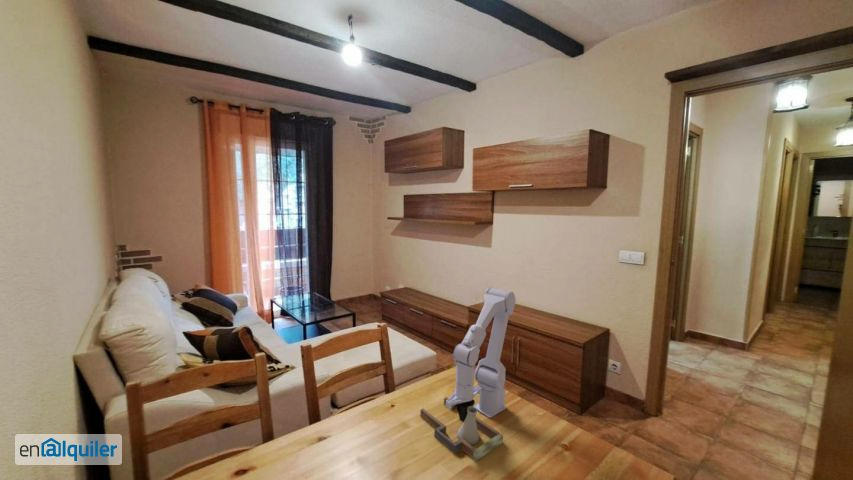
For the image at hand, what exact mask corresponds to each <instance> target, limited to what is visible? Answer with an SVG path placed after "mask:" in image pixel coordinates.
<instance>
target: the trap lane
mask: <svg viewBox="0 0 853 480" xmlns="http://www.w3.org/2000/svg"><path fill="white" fill-rule="evenodd" d="M449 398H450V397H446V396H445V397H444V398H443V406H445V407H446V400H448V399H449ZM455 408H456V406H455V405H454V406H452V408H451V409H450V410H454V409H455ZM456 409H457V408H456ZM420 418H422V419H423V420H424V421H425V422H426V423H428V424H429V425H430V426H432V427H433V428H434V438H436V440H438V441H439V442H441V443H442V445H444V446H445V447H446V448H447V449H449V451H451V452H452V453H453V454H456V453H458V452H460V451H463V452H464V453H465V454H467V456H469V458H471V459H473V460H474V461H475V462H477V461H478V460H480V459H482V458H483V457H484V456H487V454H489V453H490V452H491V451H493V450H494V449H496V448H497V447H499V446H500V445H502V444H503V443H504V434H502V433H501V432H500V431H498V430H497V429H495V428H493V427H492V426H490V425H489V424H487V423H486V422H484V421H483V420H481V419H479V418H478V417H477V416H475V419H476V424H477V429H478V430H480V431H481V432H482V433H484V434H486V435H487V436H488V437H490V438H491V439H489V440H488V441H486V442H485V443H483V444H482V445H480V446H478V447H477V448H475V447H474V445H470V444H469V443H467V442H466V441H465V440H464V439H462V438H461V439H458V440H455V441H453V440H452V439H451V438H449V437H448V436H447V435H446V434H447V425H445V424H444V423H442V421H441V420H438V418H436V417H435V416H434V415H432V414H431V413H429V411H427V410H426V409H424V408H421V409H420Z"/></svg>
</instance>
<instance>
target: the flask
mask: <svg viewBox="0 0 853 480" xmlns="http://www.w3.org/2000/svg"><path fill="white" fill-rule="evenodd" d="M473 406H474V405H473ZM473 406H469V407H468V408H467V412H468V413H467V416H466V418H465V420H464V422H462V424H461V425H460V427H459V428H458V430H457V431H456V432H457V433H456V434H457V437H456V438H457V439H458V440H459V439H461V438H462V439H464V440H465V441H466V442H467V443H469V444H470V445H471V446H474V445H475V444H477V443H478V442H479V441H480V437H479V436H480V434H479V429H478V428H477V424H476V419H475V416H476V415H477V413H478V410H477V408H475V407H473ZM476 417H477V416H476Z"/></svg>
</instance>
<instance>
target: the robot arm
mask: <svg viewBox="0 0 853 480" xmlns="http://www.w3.org/2000/svg"><path fill="white" fill-rule="evenodd" d="M515 306H516V296H515V293H514V292H513V291H507V290H503V289H498V288H493V287H491V286H490V287H488V288H487V289H486V290H485V292H484V295H483V306H482V309H481V311H480V313H479V315H478V318H477V320H476V323H475V324H472V325H470V327H469V329H468V330H467V332H466V334H465V336H464V338H463V340H462V342H461V343H458V344H457V345H456V346H455V347H454V350H453V354H452V359H453V361H454V367H455V388H454V389H453V392H454V393H453V394H452V395H451V396H450V397H448V398H449V399H448V400H446V406H445V407H446V408H447V409H449V410H451V408H452V406H454V405H455V406H456V411H457V413H458V418H459V421H461V422H462V423H463V422H464V420H465V418H466V416H467V413H468V412H467V408H468V407H469V406H473V407H475V408H477V412H480V413H481V414H483V415H484V416H486V417H487V418H489V419H491V418H493V417H494V416H496V415H498V414H499V413H501V412H502V411H505V410H507V406H506V405H505V404H506V403H505V401H506V400H505V399H506V389H505V387H504V385H505V383H506V369H507V368H506V367H505V366H504V364H503V363H502V362H501V357H502V353H503V352H502V351H503V346H504V342H505V338H506V337H505V336H506V332H507V326H508V321H509V318H510V316H512V315H513V314H514V310H515ZM492 320H493V322H492V327H491V333H490V336H489V340H488V341H489V342H488V347H487V350H486V354H485V357H484V358H481V359H480V360H479V355H480V352H481V350H480V348H481V346H482V344H483V342H484V340H485V338H486V336H487V331H486V329H487V327H488V326H489V324H490V323H491V321H492ZM477 362H478V364H477V366H476V368H475V365H476V363H477ZM474 379H475V382H477V385H475V386H474ZM477 395H478V403H477V404H475V403H476V402H475V401H476V400H475V397H476V396H477Z"/></svg>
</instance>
